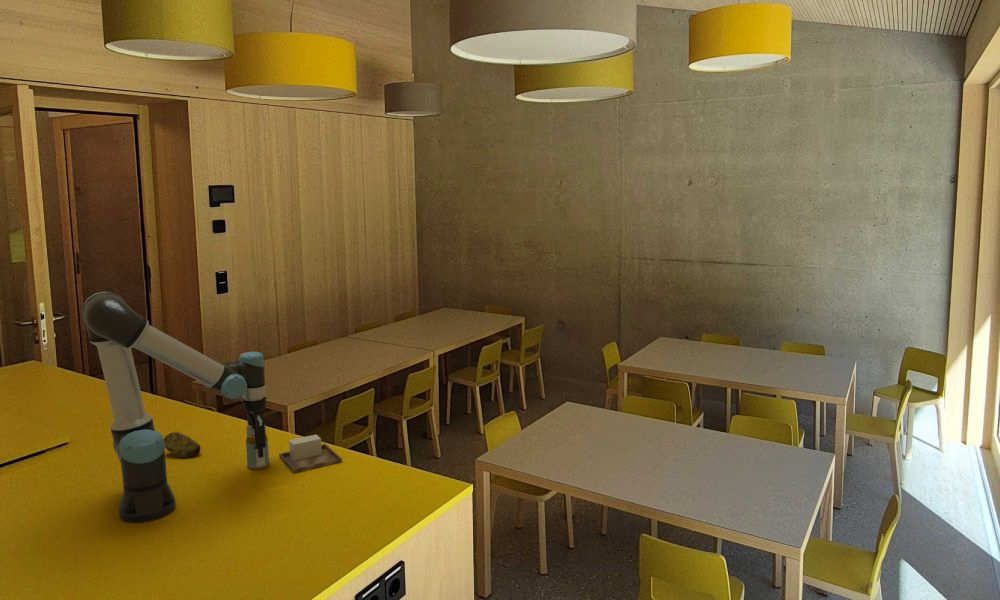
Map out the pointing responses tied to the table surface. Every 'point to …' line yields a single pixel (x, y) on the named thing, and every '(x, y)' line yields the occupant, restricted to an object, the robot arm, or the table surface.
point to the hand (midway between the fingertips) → (258, 462)
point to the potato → (181, 445)
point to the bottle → (252, 452)
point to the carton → (305, 447)
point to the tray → (311, 460)
